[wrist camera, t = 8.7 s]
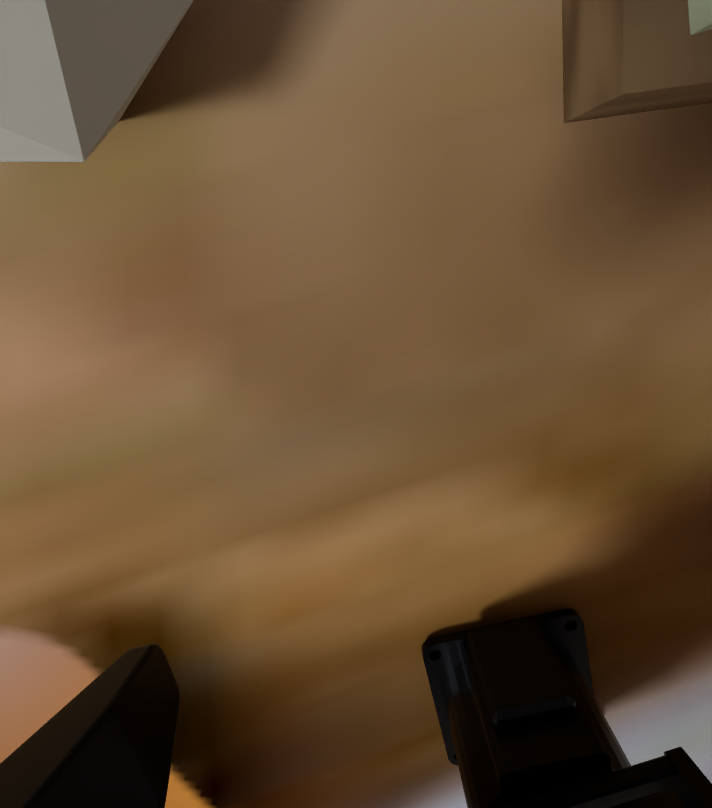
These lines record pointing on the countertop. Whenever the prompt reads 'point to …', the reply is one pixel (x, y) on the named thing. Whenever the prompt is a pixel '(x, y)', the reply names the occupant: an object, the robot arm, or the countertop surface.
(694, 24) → the sage block
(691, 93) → the walnut base
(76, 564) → the countertop surface
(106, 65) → the die
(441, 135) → the countertop surface
